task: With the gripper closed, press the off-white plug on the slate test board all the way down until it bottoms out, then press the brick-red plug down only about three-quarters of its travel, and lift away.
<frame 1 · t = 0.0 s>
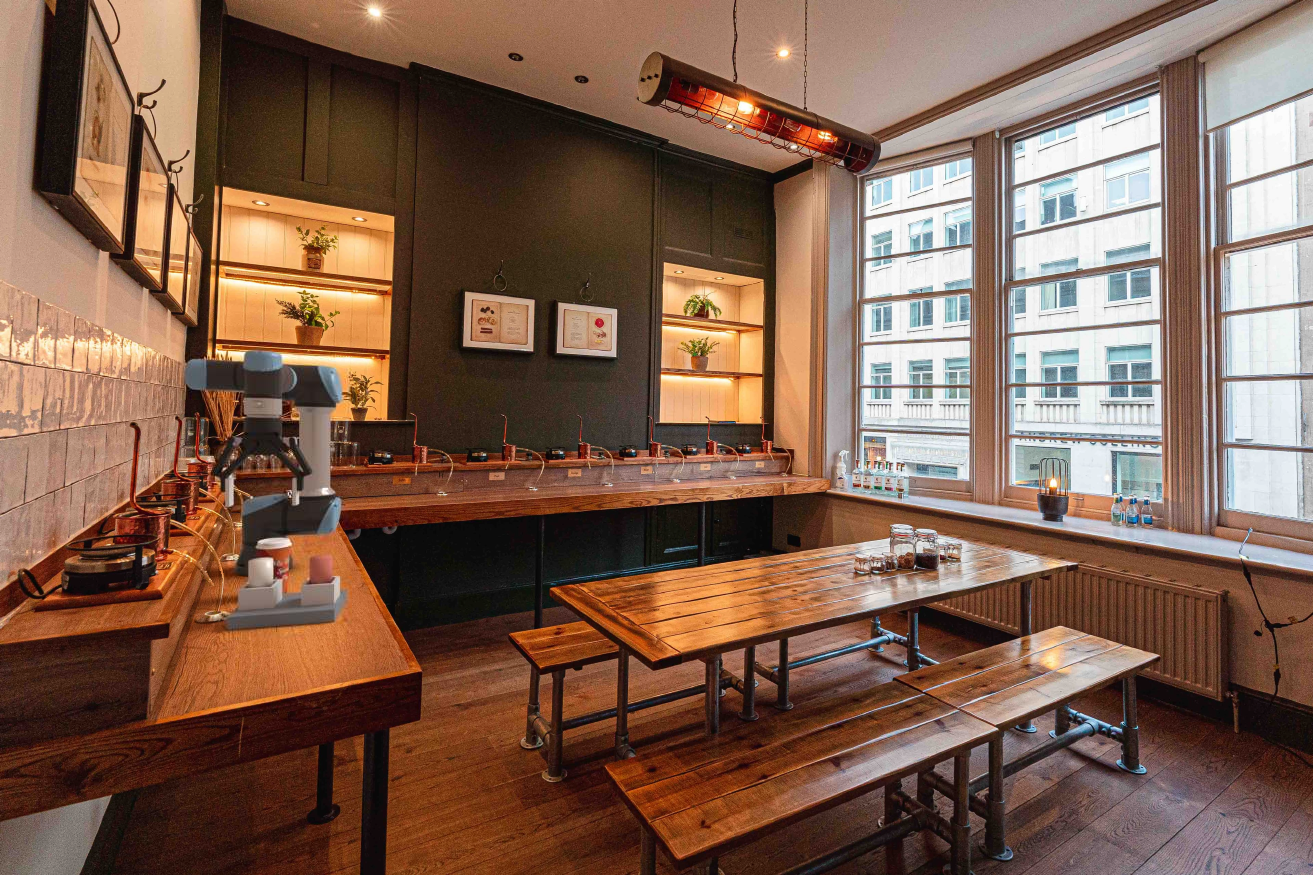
hand: (263, 505, 137), 28 cm above the worktop, tool pointing down, fingers open, 13 cm apart
coffee cup: (274, 595, 157), on the worktop
red plug: (321, 570, 145), point 11 cm above the worktop, slide at 0.0 cm
test board: (291, 614, 143), on the worktop
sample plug: (260, 574, 140), point 11 cm above the worktop, slide at 0.0 cm
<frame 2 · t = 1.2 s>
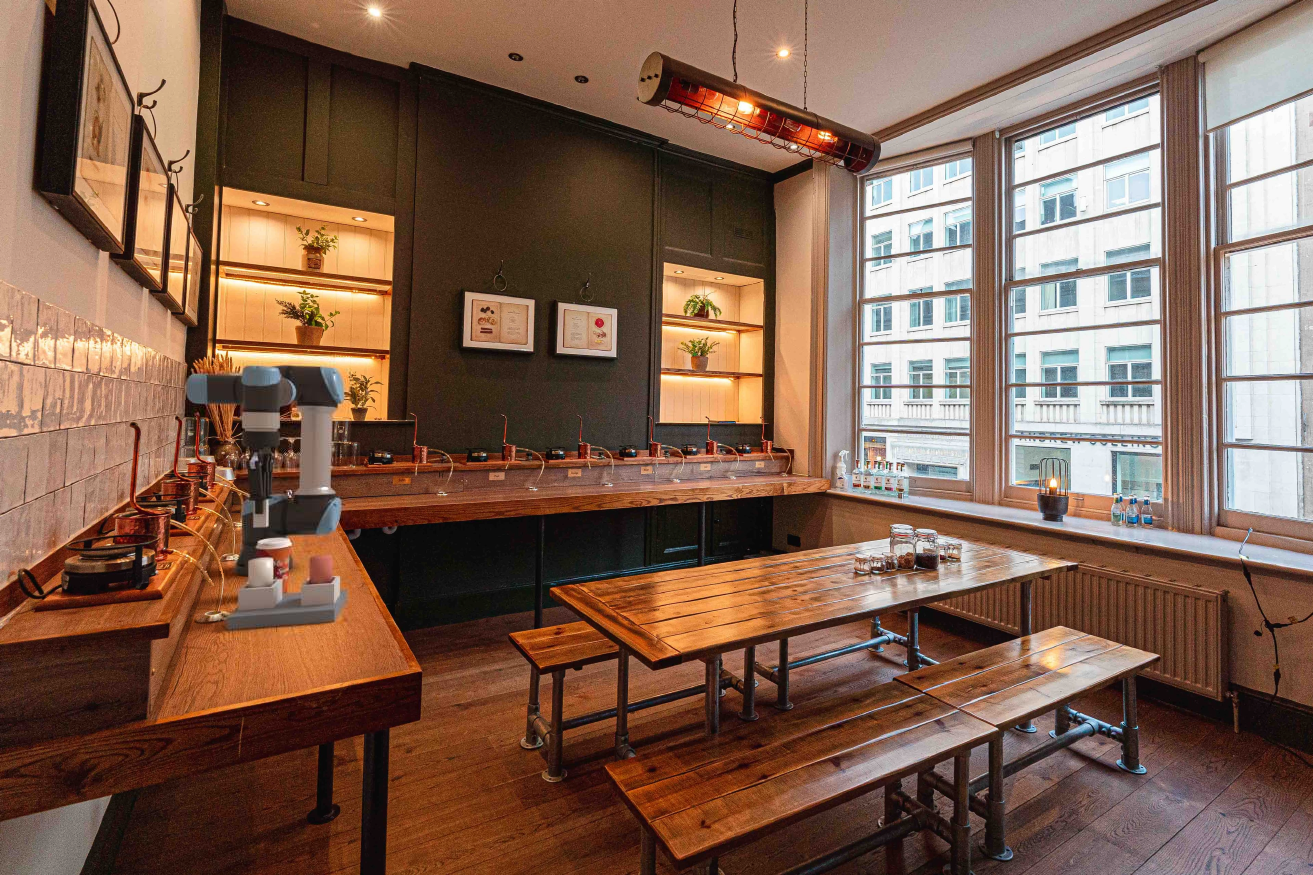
hand: (260, 526, 140), 22 cm above the worktop, tool pointing down, fingers closed
nothing on the worktop moved.
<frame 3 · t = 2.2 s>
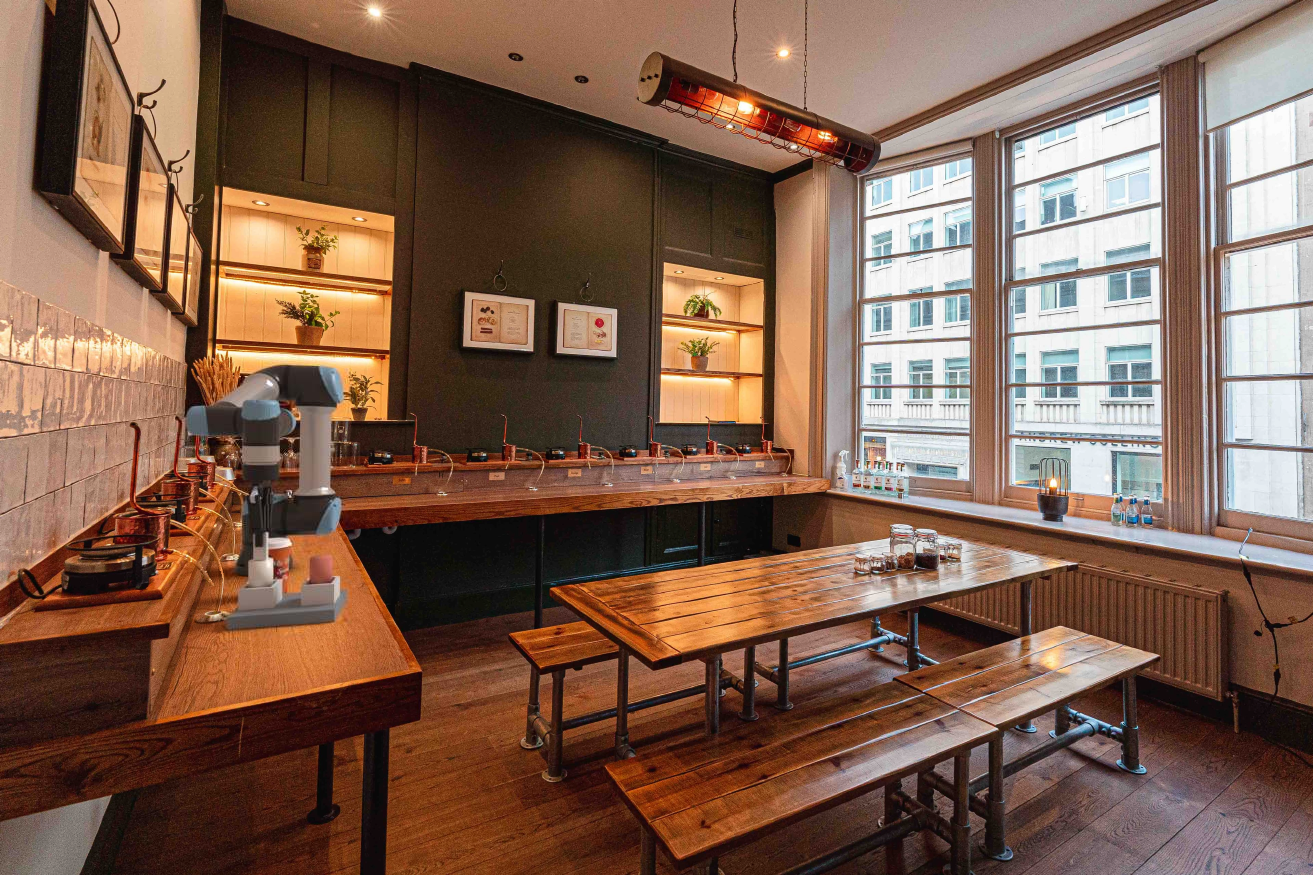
hand: (260, 559, 140), 14 cm above the worktop, tool pointing down, fingers closed
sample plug: (260, 574, 140), point 10 cm above the worktop, slide at 0.0 cm, touching gripper
everything else where it was.
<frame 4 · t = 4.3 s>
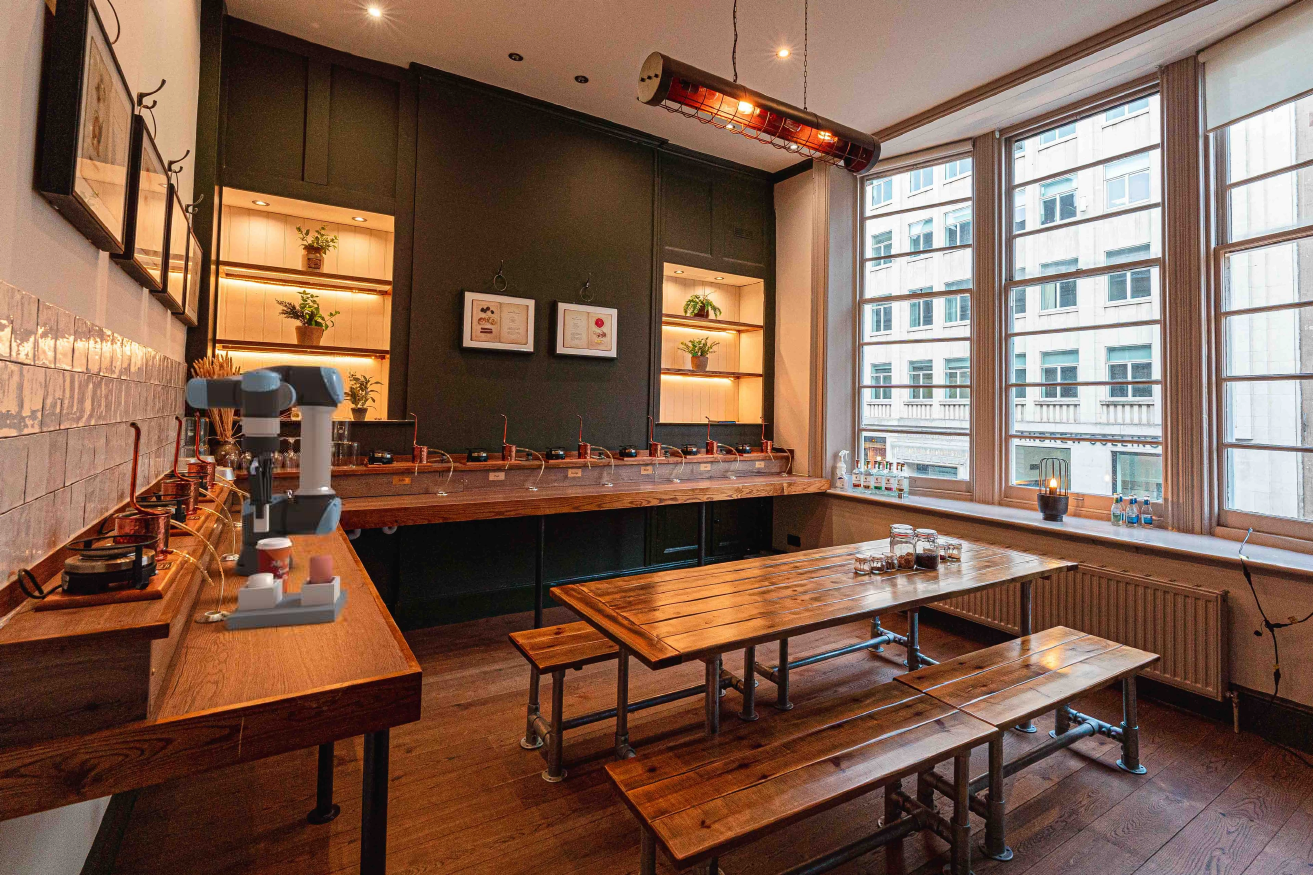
hand: (261, 531, 140), 21 cm above the worktop, tool pointing down, fingers closed
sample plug: (260, 589, 141), point 7 cm above the worktop, slide at 3.9 cm
everything else where it was.
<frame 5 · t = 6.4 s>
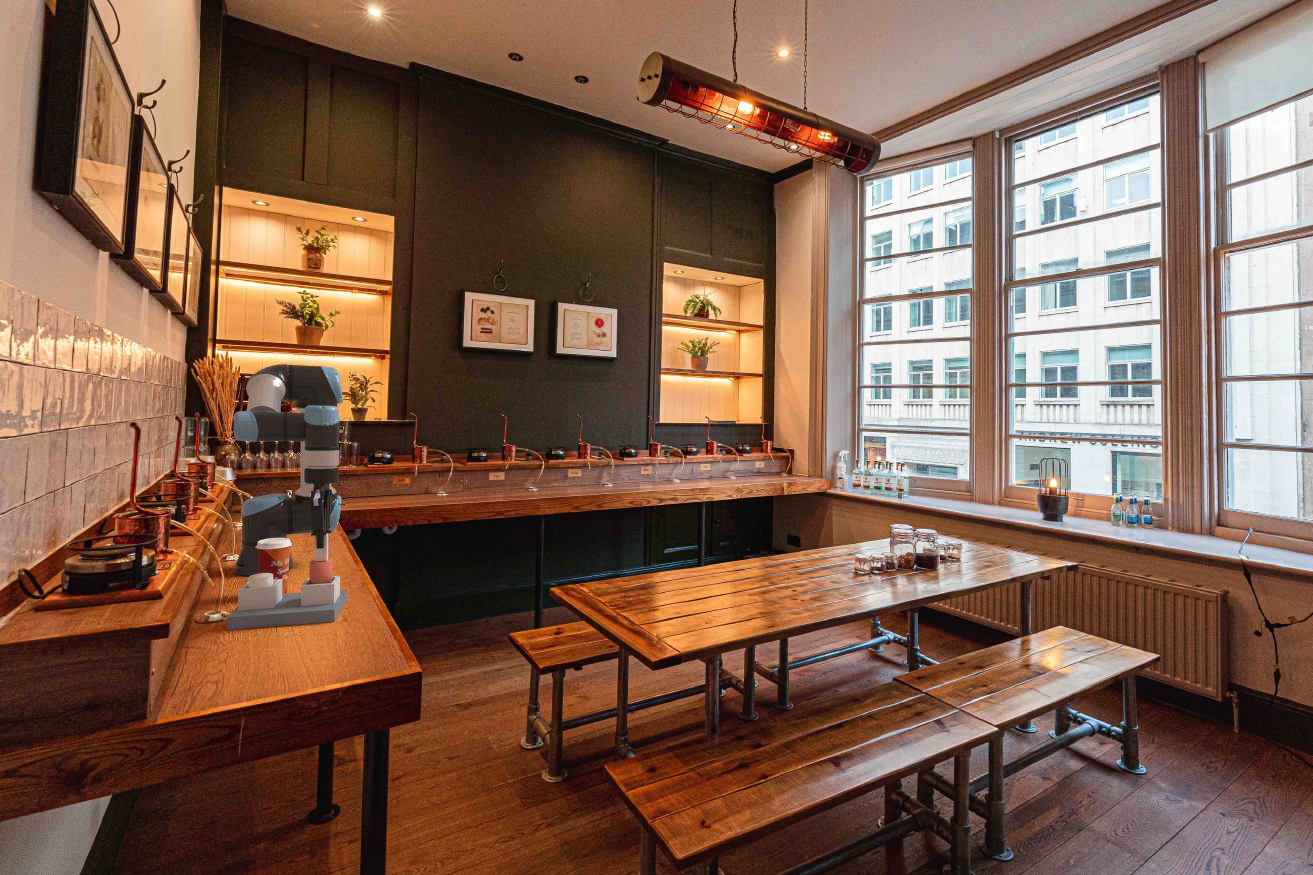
hand: (321, 560, 144), 13 cm above the worktop, tool pointing down, fingers closed
red plug: (321, 574, 145), point 10 cm above the worktop, slide at 1.0 cm, touching gripper
everything else where it was.
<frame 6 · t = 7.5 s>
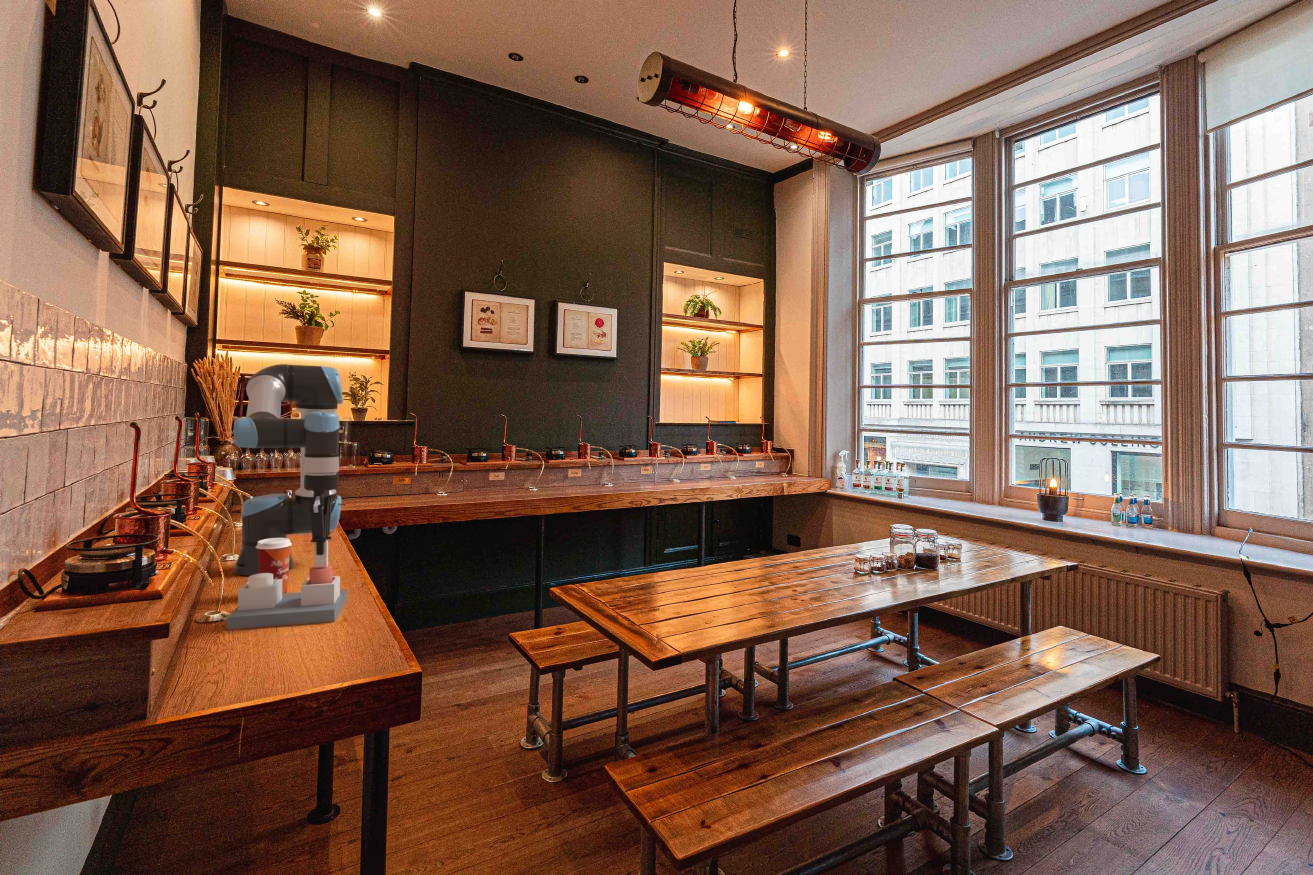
hand: (321, 566, 145), 12 cm above the worktop, tool pointing down, fingers closed
red plug: (321, 581, 145), point 8 cm above the worktop, slide at 2.7 cm
everything else where it was.
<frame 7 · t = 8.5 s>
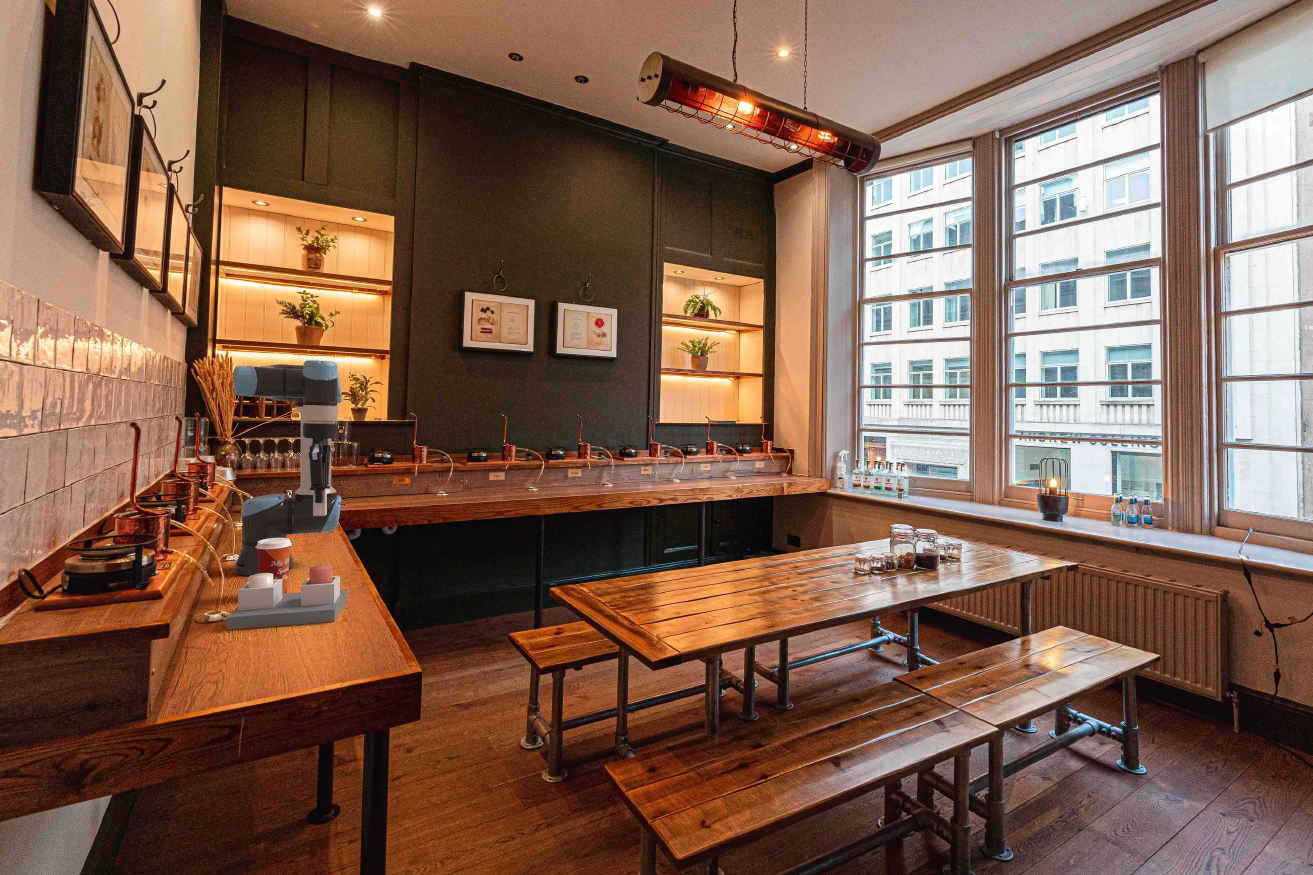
hand: (319, 515, 145), 24 cm above the worktop, tool pointing down, fingers closed
nothing on the worktop moved.
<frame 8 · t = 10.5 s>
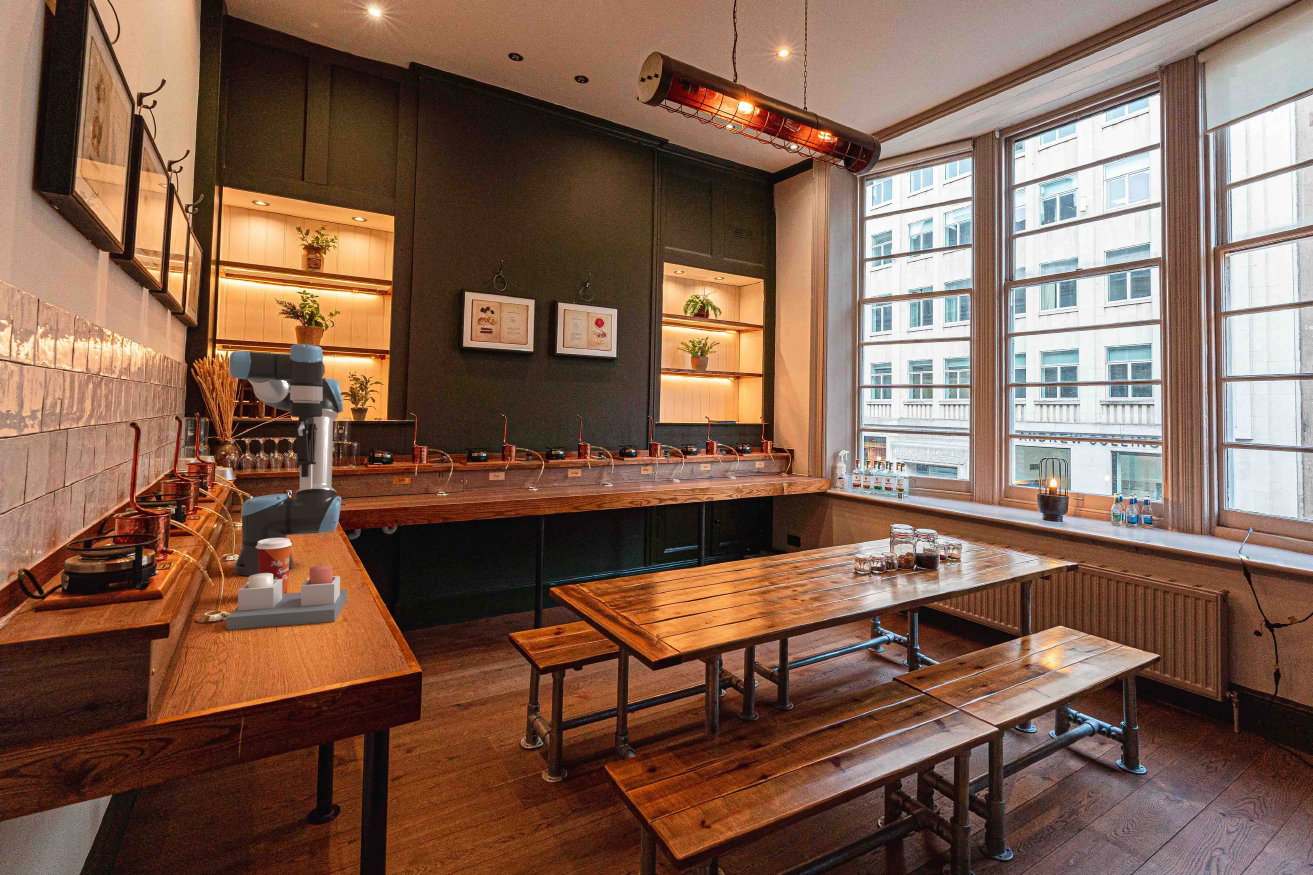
hand: (306, 488, 157), 29 cm above the worktop, tool pointing down, fingers closed
nothing on the worktop moved.
at the end: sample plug slide at 3.9 cm; red plug slide at 2.7 cm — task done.
